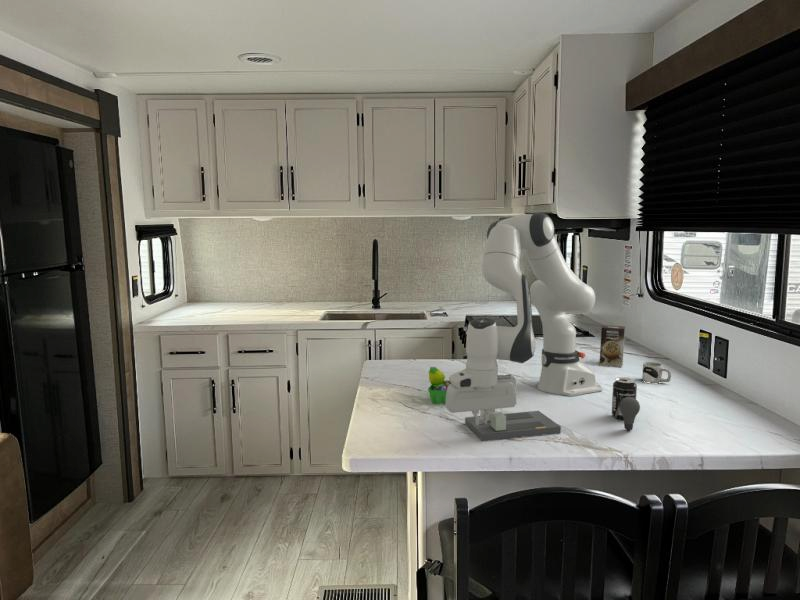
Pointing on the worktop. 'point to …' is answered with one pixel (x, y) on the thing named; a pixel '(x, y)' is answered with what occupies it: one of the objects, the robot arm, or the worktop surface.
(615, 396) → the beverage can
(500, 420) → the sage tab
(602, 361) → the coffee box
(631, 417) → the light bulb
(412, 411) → the worktop surface
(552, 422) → the switch panel
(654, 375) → the mug
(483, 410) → the cream tab
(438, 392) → the fruit basket
